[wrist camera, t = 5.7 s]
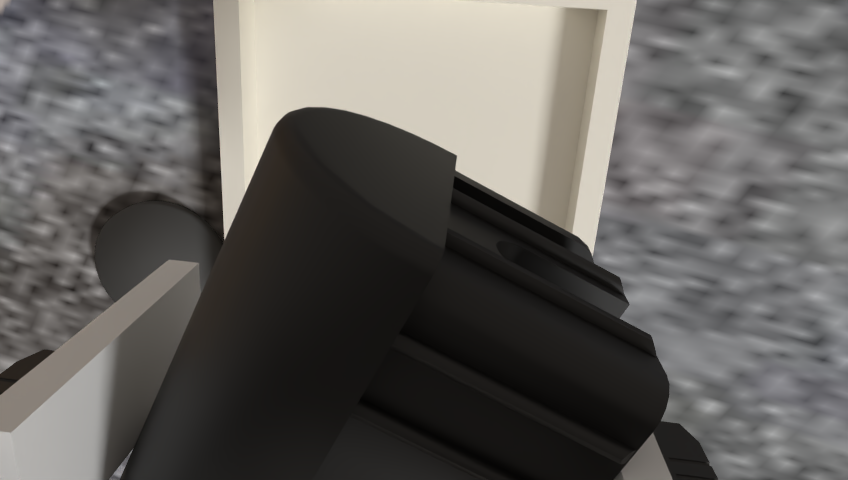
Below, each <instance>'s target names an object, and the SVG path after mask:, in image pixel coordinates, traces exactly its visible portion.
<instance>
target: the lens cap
mask: <svg viewBox="0 0 848 480" xmlns="http://www.w3.org/2000/svg"><path fill="white" fill-rule="evenodd" d="M222 245H223V244H222V242H221V240H220V238H219V237H218V235H217V234H216V232H215V231H214V230H213V229H212V227H211V226H210V225H209V224H208V223H207V222H206V221H205V220H203V219H202V218H201V217H200V216H198V215H197V214H196V213H194V212H192V211H191V210H189V209H187V208H185V207H182V206H180V205H177V204H174V203H170V202H164V201H145V202H140V203H136V204H134V205H131V206H129V207H127V208H125V209H123V210H122V211H120V212H118V213H117V214H115V215H114V216H113V217H111V218H110V219H109V220H108V221H107V222H106V224H105V225H104V226H103V228H102V229H101V231H100V233H99V236H98V238H97V242H96V246H95V264H96V269H97V273H98V276H99V279H100V281H101V283H102V285H103V287H104V288H105V290H106V292H107V293H108V294H109V296H110V297H111V298H112V300H113V301H114V302H117V301H118V300H119V299H120V298H122V297H123V296H124V295H125V294H127V293H128V292H129V291H130V290H132V289H133V288H134V287H135V286H137V285H138V284H139V283H140V282H142V281H143V280H144V279H145V278H147V277H148V276H149V275H150V274H152V273H153V272H154V271H155V270H157V269H158V268H159V267H160V266H161V265H163V264H164V263H165V262H166V261H168V260H178V261H187V262H196V263H199V273H200V295H201V293H202V291H203V288H204V286H205V284H206V282H207V279H208V277H209V275H210V272H211V270H212V268H213V266H214V263H215V261H216V259H217V256H218V254H219V252H220V250H221V247H222Z"/></svg>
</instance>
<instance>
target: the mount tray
mask: <svg viewBox="0 0 848 480" xmlns="http://www.w3.org/2000/svg"><path fill="white" fill-rule="evenodd" d="M636 2H637V0H213V7H214V29H215V50H216V71H217V93H218V114H219V136H220V157H221V178H222V200H223V221H224V240H225V238H226V236H227V233H228V231H229V229H230V227H231V224H232V222H233V220H234V217H235V215H236V213H237V211H238V208H239V206H240V204H241V201H242V199H243V197H244V195H245V192H246V190H247V188H248V185H249V183H250V181H251V179H252V176H253V174H254V172H255V169H256V167H257V165H258V163H259V160H260V158H261V156H262V153H263V151H264V149H265V147H266V144H267V142H268V140H269V137H270V135H271V133H272V131H273V128H274V127H275V125H276V124H277V122H278V121H279V120H280V119H281V118H282V117H283V116H284V115H286V114H287V113H288V112H291V111H294V110H298V109H301V108H305V107H328V108H334V109H340V110H346V111H350V112H353V113H357V114H361V115H365V116H368V117H371V118H374V119H376V120H379V121H382V122H385V123H388V124H390V125H393V126H395V127H398V128H400V129H403V130H405V131H408V132H410V133H412V134H414V135H417V136H419V137H421V138H423V139H425V140H427V141H429V142H432V143H434V144H436V145H438V146H440V147H441V148H443V149H445V150H447V151H449V152H451V153H453V154H455V155H457V160H456V168H455V170H456V171H458V172H459V173H461V174H463V175H465V176H467V177H469V178H470V179H472V180H474V181H476V182H478V183H480V184H482V185H483V186H485V187H487V188H489V189H491V190H493V191H494V192H496V193H498V194H500V195H502V196H504V197H506V198H507V199H509V200H511V201H513V202H515V203H517V204H518V205H520V206H522V207H524V208H526V209H528V210H530V211H531V212H533V213H535V214H537V215H539V216H541V217H542V218H544V219H546V220H548V221H550V222H552V223H554V224H555V225H557V226H559V227H561V228H563V229H565V230H566V231H568V232H570V233H572V234H574V235H576V236H578V237H579V238H580V239H581V240H582V241H583V242H584V243H585V244H586V245H587V246H588V248H589V250H590V252H591V254H592V256H593V251H594V245H595V239H596V233H597V228H598V222H599V216H600V210H601V204H602V199H603V193H604V187H605V181H606V175H607V170H608V164H609V158H610V152H611V147H612V141H613V135H614V129H615V123H616V118H617V112H618V106H619V100H620V95H621V89H622V83H623V77H624V71H625V66H626V60H627V54H628V48H629V42H630V37H631V31H632V25H633V19H634V14H635V8H636Z"/></svg>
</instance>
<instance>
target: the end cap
mask: <svg viewBox="0 0 848 480" xmlns="http://www.w3.org/2000/svg"><path fill="white" fill-rule="evenodd" d="M456 160H457V155H455V154H453V153H451V152H449V151H447V150H445V149H443V148H441V147H440V146H438V145H436V144H434V143H432V142H429V141H427V140H425V139H423V138H421V137H419V136H417V135H414V134H412V133H410V132H408V131H405V130H403V129H400V128H398V127H395V126H393V125H390V124H388V123H385V122H382V121H379V120H376V119H374V118H371V117H368V116H365V115H361V114H357V113H353V112H350V111H346V110H340V109H334V108H328V107H305V108H301V109H298V110H294V111H291V112H288V113H287V114H286V115H284V116H283V117H282V118H281V119H280V120H279V121H278V122H277V124H276V125H275V127H274V128H273V131H272V133H271V135H270V137H269V140H268V142H267V144H266V147H265V149H264V151H263V153H262V156H261V158H260V160H259V163H258V165H257V167H256V169H255V172H254V174H253V176H252V179H251V181H250V183H249V185H248V188H247V190H246V192H245V195H244V197H243V199H242V201H241V204H240V206H239V208H238V211H237V213H236V215H235V217H234V220H233V222H232V224H231V227H230V229H229V231H228V233H227V236H226V238H225V240H224V243H223V245H222V247H221V250H220V252H219V254H218V256H217V259H216V261H215V263H214V266H213V268H212V270H211V272H210V275H209V277H208V279H207V282H206V284H205V286H204V288H203V291H202V293H201V295H200V298H199V300H198V302H197V304H196V307H195V309H194V311H193V314H192V316H191V318H190V320H189V323H188V325H187V327H186V330H185V332H184V334H183V336H182V339H181V341H180V343H179V346H178V348H177V350H176V352H175V355H174V357H173V359H172V362H171V364H170V366H169V368H168V371H167V373H166V375H165V378H164V380H163V382H162V384H161V387H160V389H159V391H158V394H157V396H156V398H155V400H154V403H153V405H152V407H151V410H150V412H149V414H148V417H147V419H146V421H145V423H144V426H143V428H142V430H141V433H140V435H139V437H138V439H137V442H136V444H135V446H134V449H133V451H132V453H131V455H130V458H129V460H128V462H127V465H126V467H125V469H124V471H123V474H122V476H121V478H120V480H614V479H615V478H616V476H617V475H618V474H619V473H620V472H621V470H622V469H623V468H624V467H625V465H626V464H627V463H628V462H629V461H630V459H631V458H632V457H633V456H634V455H635V453H636V452H637V451H638V450H639V449H640V447H641V446H642V445H643V444H644V443H645V441H646V440H647V439H648V438H649V437H650V435H651V434H652V433H653V432H654V430H655V429H656V427H657V426H658V424H659V423H660V421H661V419H662V417H663V414H664V412H665V410H666V407H667V402H668V398H669V381H668V378H667V375H666V373H665V371H664V369H663V367H662V365H661V363H660V362H659V360H658V358H657V356H656V351H655V347H654V343H653V340H652V337H651V335H649V334H647V333H646V332H644V331H642V330H640V329H638V328H636V327H634V326H632V325H630V324H629V323H627V322H625V321H623V320H621V319H619V318H620V317H621V315H622V314H623V313H624V311H625V310H626V309H627V307H628V306H629V305H630V304H629V303H628V301H627V299H626V297H625V295H624V292H623V287H622V283H621V280H620V277H618V276H616V275H614V274H612V273H610V272H609V271H607V270H605V269H603V268H601V267H599V266H597V265H596V264H594V262H593V258H592V254H591V252H590V250H589V248H588V246H587V245H586V244H585V243H584V242H583V241H582V240H581V239H580V238H579V237H578V236H576V235H574V234H572V233H570V232H568V231H566V230H565V229H563V228H561V227H559V226H557V225H555V224H554V223H552V222H550V221H548V220H546V219H544V218H542V217H541V216H539V215H537V214H535V213H533V212H531V211H530V210H528V209H526V208H524V207H522V206H520V205H518V204H517V203H515V202H513V201H511V200H509V199H507V198H506V197H504V196H502V195H500V194H498V193H496V192H494V191H493V190H491V189H489V188H487V187H485V186H483V185H482V184H480V183H478V182H476V181H474V180H472V179H470V178H469V177H467V176H465V175H463V174H461V173H459V172H458V171H456V170H455V168H456Z"/></svg>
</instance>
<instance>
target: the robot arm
mask: <svg viewBox="0 0 848 480" xmlns="http://www.w3.org/2000/svg"><path fill="white" fill-rule="evenodd" d="M199 298H200V273H199V263H196V262H187V261H178V260H168V261H166V262H165V263H164V264H163V265H161V266H160V267H159V268H158V269H157V270H155V271H154V272H153V273H152V274H150V275H149V276H148V277H147V278H145V279H144V280H143V281H142V282H140V283H139V284H138V285H137V286H135V287H134V288H133V289H132V290H130V291H129V292H128V293H127V294H125V295H124V296H123V297H122V298H120V299H119V300H118V301H117V302H115V303H114V304H113V305H112V306H111V307H109V308H108V309H107V310H106V311H104V312H103V313H102V314H101V315H99V316H98V317H97V318H96V319H94V320H93V321H92V322H91V323H89V324H88V325H87V326H86V327H84V328H83V329H82V330H81V331H79V332H78V333H77V334H76V335H74V336H73V337H72V338H71V339H69V340H68V341H67V342H66V343H64V344H63V345H62V346H61V347H60V348H58V349H57V350H56V351H52V350H42V351H40V352H37V353H35V354H33V355H31V356H28V357H26V358H24V359H22V360H19V361H17V362H16V363H14V364H13V365H12V366H10V367H9V368H8V369H6V370H5V371H4V372H2V373H1V374H0V480H109V478H110V477H111V476H112V475H113V473H114V472H115V471H116V470H117V468H118V467H119V466H120V464H121V463H122V462H123V461H124V459H125V458H126V457H127V456H128V454H129V453H130V452H131V450H132V449H133V448H134V446H135V444H136V442H137V439H138V437H139V435H140V433H141V430H142V428H143V426H144V423H145V421H146V419H147V417H148V414H149V412H150V410H151V407H152V405H153V403H154V400H155V398H156V396H157V394H158V391H159V389H160V387H161V384H162V382H163V380H164V378H165V375H166V373H167V371H168V368H169V366H170V364H171V362H172V359H173V357H174V355H175V352H176V350H177V348H178V346H179V343H180V341H181V339H182V336H183V334H184V332H185V330H186V327H187V325H188V323H189V320H190V318H191V316H192V314H193V311H194V309H195V307H196V304H197V302H198V300H199ZM614 480H718V478H717V476H716V474H715V472H714V470H713V468H712V466H709V461H708V459H707V457H706V455H705V453H704V451H703V449H702V447H701V445H700V443H699V442H698V441H697V440H696V439H695V438H694V437H693V436H692V435H691V434H690V433H689V432H688V431H687V430H685V429H684V428H683V427H682V426H681V425H680V424H678V423H670V422H661V421H660V423H659V424H658V426H657V427H656V429H655V430H654V432H653V433H652V434H651V435H650V437H649V438H648V439H647V440H646V441H645V443H644V444H643V445H642V446H641V447H640V449H639V450H638V451H637V452H636V453H635V455H634V456H633V457H632V458H631V459H630V461H629V462H628V463H627V464H626V465H625V467H624V468H623V469H622V470H621V472H620V473H619V474H618V475H617V476H616V478H615V479H614Z"/></svg>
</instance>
